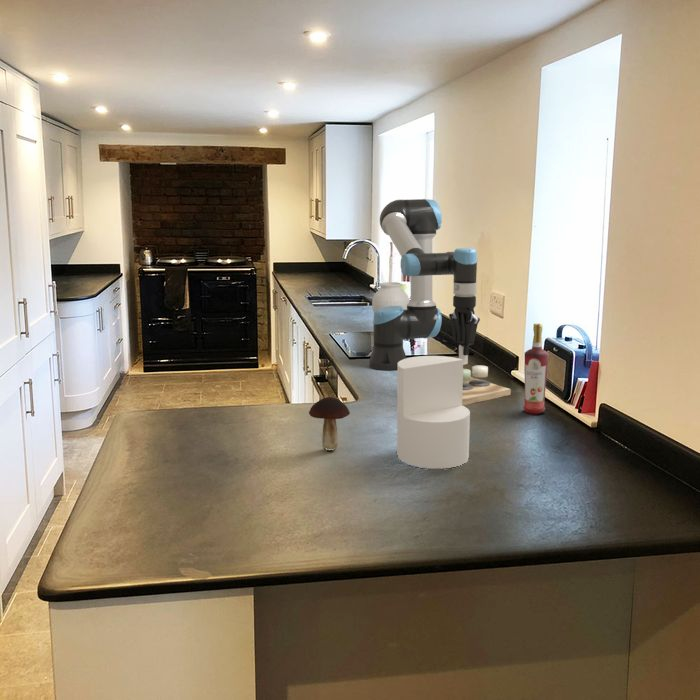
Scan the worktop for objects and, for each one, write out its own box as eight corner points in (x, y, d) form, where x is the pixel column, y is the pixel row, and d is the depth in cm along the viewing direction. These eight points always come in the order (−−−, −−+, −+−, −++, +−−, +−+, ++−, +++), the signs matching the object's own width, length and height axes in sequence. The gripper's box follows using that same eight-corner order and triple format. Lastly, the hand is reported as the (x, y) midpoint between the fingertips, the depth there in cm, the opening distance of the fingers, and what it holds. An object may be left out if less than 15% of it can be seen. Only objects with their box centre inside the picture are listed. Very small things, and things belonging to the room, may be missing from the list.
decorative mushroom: (355, 446, 197) (355, 393, 194) (342, 460, 187) (341, 404, 184) (318, 442, 201) (317, 390, 197) (303, 455, 190) (301, 401, 187)
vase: (410, 338, 337) (410, 285, 331) (372, 339, 337) (372, 286, 331) (408, 331, 354) (408, 280, 348) (371, 331, 354) (371, 281, 349)
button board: (414, 391, 250) (414, 384, 249) (466, 380, 262) (466, 374, 262) (456, 406, 231) (457, 399, 231) (510, 394, 244) (510, 387, 244)
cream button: (468, 375, 251) (468, 366, 250) (480, 372, 254) (480, 364, 253) (479, 378, 246) (479, 369, 246) (491, 376, 249) (491, 367, 249)
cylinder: (385, 450, 194) (385, 360, 188) (445, 440, 201) (446, 353, 196) (418, 474, 177) (419, 376, 172) (482, 462, 184) (485, 368, 179)
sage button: (451, 378, 247) (451, 370, 246) (463, 376, 249) (463, 367, 249) (461, 381, 242) (462, 373, 241) (473, 379, 245) (474, 371, 244)
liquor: (547, 410, 227) (552, 323, 221) (543, 416, 220) (548, 327, 214) (524, 407, 230) (528, 321, 224) (519, 414, 223) (523, 325, 217)
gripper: (443, 294, 243) (442, 362, 248) (469, 298, 232) (467, 369, 237) (460, 292, 247) (458, 359, 252) (486, 296, 236) (484, 366, 241)
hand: (463, 364), depth 244 cm, fingers closed
